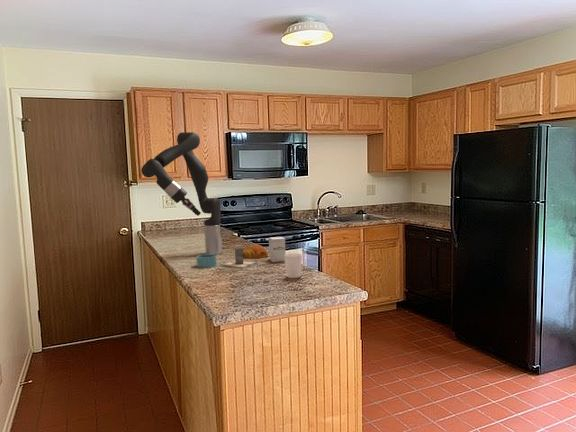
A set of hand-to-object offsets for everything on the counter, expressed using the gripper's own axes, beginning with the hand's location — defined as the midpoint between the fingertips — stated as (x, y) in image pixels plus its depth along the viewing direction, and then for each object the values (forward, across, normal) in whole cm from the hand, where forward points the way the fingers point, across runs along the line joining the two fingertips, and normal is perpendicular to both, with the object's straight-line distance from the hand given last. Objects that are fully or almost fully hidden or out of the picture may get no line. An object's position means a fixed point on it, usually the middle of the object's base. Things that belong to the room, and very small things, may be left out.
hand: (198, 214), depth 229 cm
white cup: (+46, -40, -8) cm, 62 cm away
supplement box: (+48, -4, -11) cm, 49 cm away
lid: (+32, -7, +4) cm, 34 cm away
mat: (+33, -7, +5) cm, 34 cm away
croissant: (+42, +13, -5) cm, 44 cm away
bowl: (+22, -1, +16) cm, 27 cm away
